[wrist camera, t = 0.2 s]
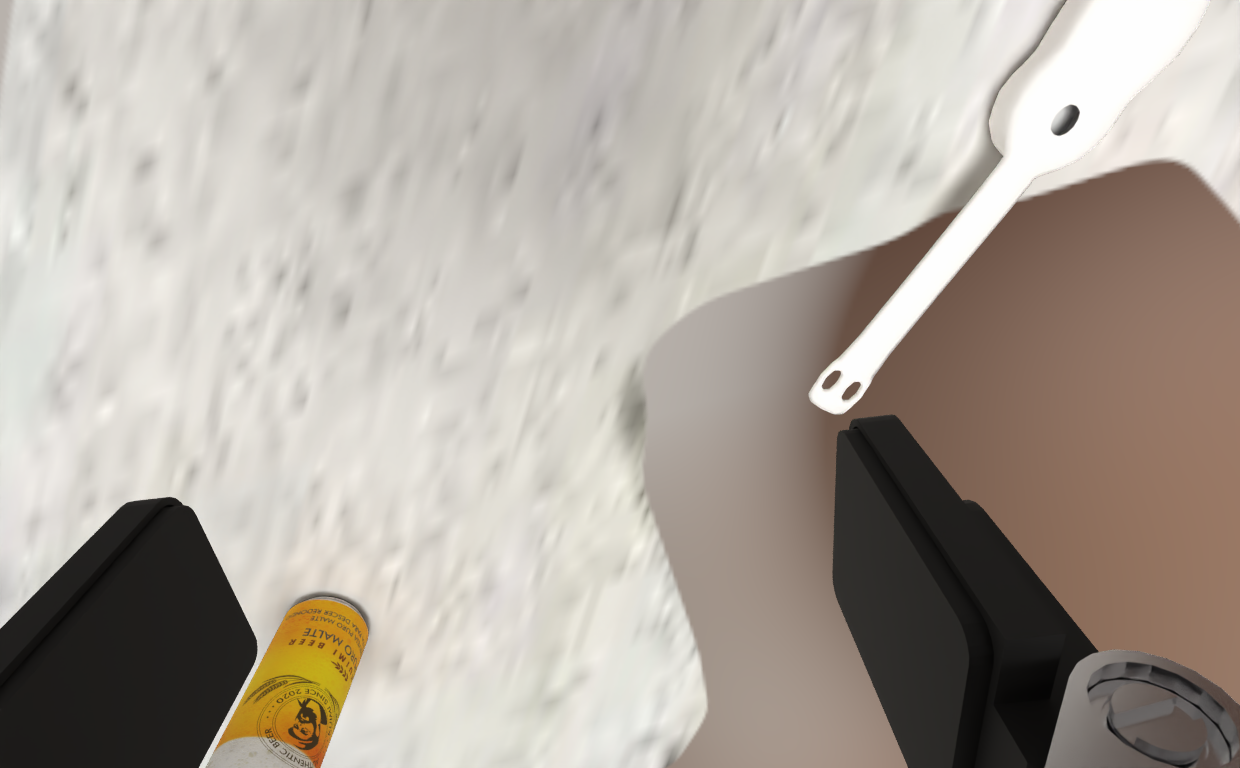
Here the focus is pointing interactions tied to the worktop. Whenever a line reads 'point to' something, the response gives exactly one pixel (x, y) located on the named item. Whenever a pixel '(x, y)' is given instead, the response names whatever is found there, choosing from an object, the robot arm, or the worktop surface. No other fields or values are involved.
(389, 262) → the worktop surface
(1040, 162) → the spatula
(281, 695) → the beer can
